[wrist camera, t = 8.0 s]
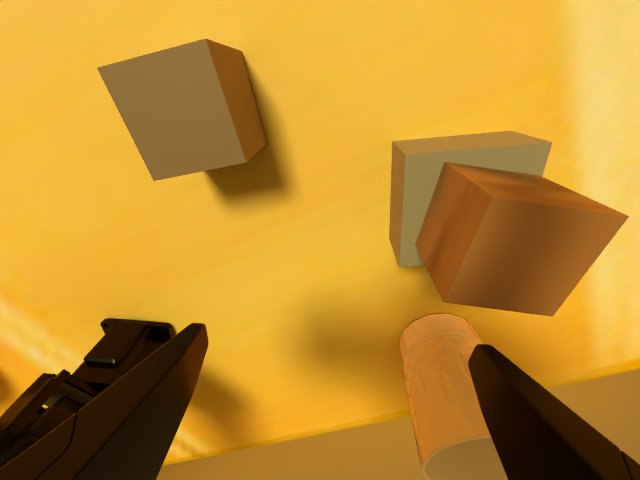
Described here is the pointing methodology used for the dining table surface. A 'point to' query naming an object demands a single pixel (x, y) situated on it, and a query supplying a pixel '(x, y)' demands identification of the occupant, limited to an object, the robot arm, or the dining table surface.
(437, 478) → the white cup
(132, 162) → the dining table surface
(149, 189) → the dining table surface
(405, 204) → the base block
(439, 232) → the walnut block
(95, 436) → the robot arm
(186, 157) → the brown block
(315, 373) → the dining table surface
